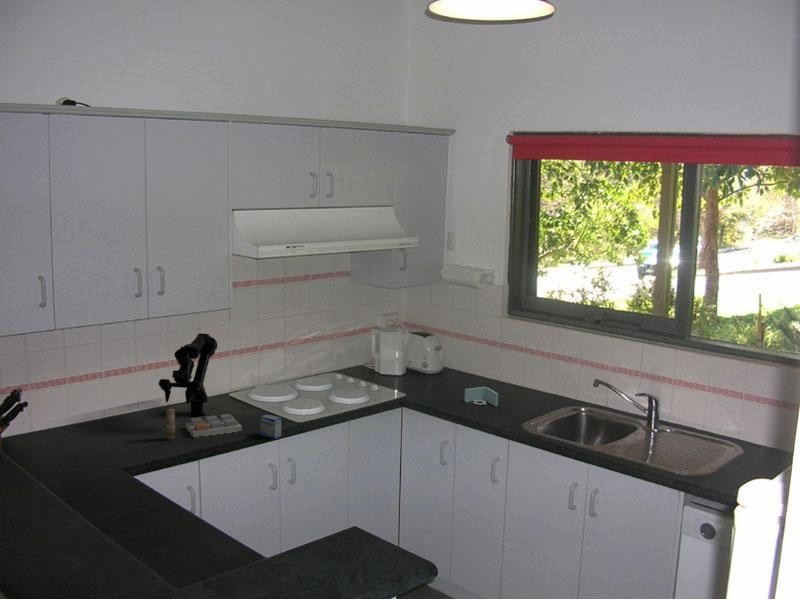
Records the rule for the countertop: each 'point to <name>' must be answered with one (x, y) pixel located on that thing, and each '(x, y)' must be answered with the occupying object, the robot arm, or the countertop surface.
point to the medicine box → (270, 426)
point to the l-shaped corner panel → (481, 396)
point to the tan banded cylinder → (170, 424)
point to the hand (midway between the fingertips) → (176, 403)
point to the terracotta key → (200, 426)
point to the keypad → (214, 425)
